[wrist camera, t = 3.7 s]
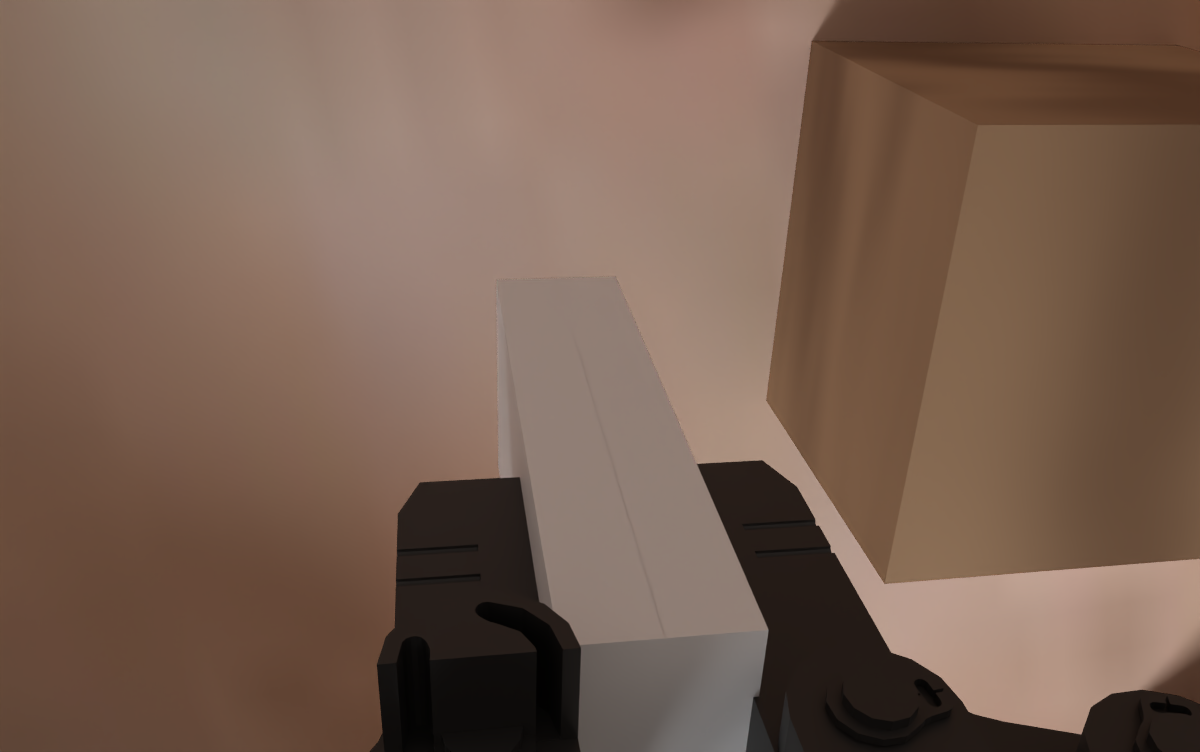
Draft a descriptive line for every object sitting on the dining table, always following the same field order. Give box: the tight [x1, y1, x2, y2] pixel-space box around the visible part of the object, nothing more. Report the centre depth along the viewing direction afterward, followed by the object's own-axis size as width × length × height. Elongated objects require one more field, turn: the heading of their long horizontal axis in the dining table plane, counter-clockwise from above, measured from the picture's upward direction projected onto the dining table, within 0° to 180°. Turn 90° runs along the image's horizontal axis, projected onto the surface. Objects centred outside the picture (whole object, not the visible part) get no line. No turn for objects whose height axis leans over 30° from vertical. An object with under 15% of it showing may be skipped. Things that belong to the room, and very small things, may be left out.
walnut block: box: [766, 41, 1200, 584], centre depth 18 cm, size 7×7×6 cm
